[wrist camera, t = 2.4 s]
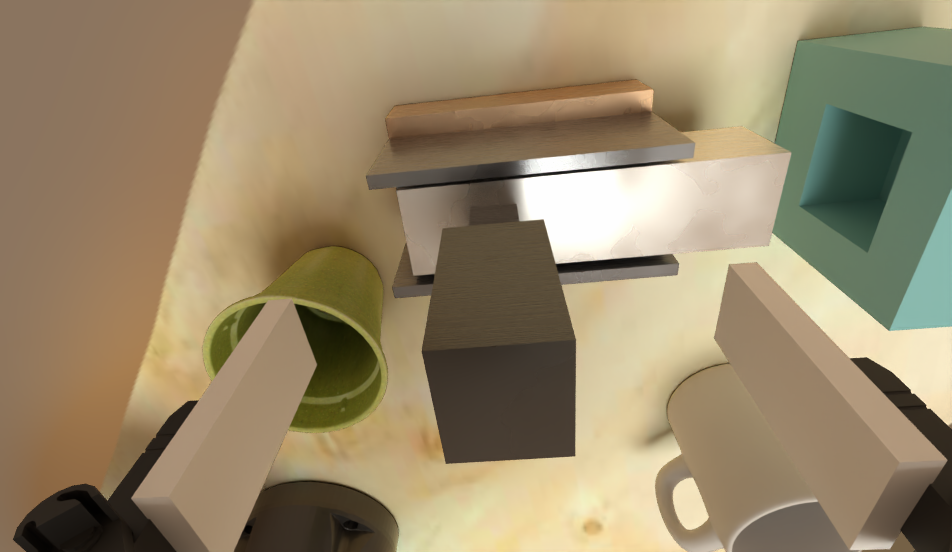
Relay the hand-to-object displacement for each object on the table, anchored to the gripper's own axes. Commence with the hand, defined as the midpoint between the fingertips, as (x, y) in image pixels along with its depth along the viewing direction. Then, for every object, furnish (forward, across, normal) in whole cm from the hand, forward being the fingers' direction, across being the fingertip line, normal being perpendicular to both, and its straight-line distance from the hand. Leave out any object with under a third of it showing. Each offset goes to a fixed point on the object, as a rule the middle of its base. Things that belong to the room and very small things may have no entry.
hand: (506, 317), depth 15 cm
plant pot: (+15, +11, +7) cm, 20 cm away
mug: (+15, -15, +22) cm, 31 cm away
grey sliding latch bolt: (+11, -4, 0) cm, 12 cm away
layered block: (+15, -1, 0) cm, 15 cm away
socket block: (+15, -19, 0) cm, 24 cm away
